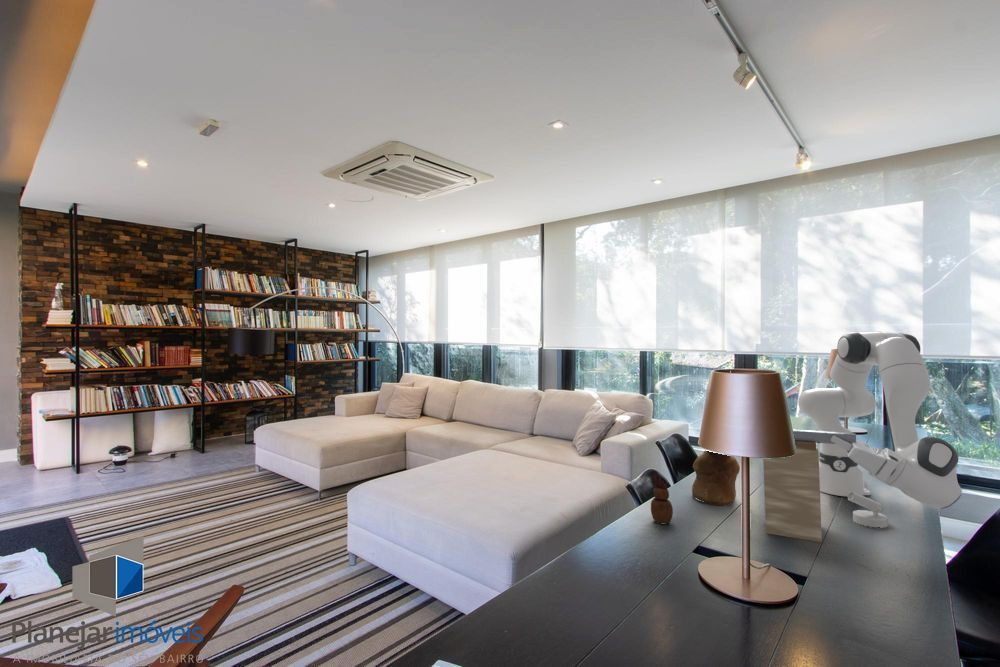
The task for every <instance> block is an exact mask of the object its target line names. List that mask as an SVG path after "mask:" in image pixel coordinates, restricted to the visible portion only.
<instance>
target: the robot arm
mask: <svg viewBox="0 0 1000 667" xmlns="http://www.w3.org/2000/svg"><path fill="white" fill-rule="evenodd" d="M836 347H837V349H836V351H837V354H836V356H835V359H834V361H833V364H832V366H831V367H830V368H831V369H830V370H829V376H830V377H829V378H830V380H831V382H833V384H835V385H836V386H837V387H833V388H831V387H830V388H812V389H807V390H803V391H802V392H801V393H800V395H799V396H798V401H797V402H798V407H799V410H800V411H801V412H802V413H803V414H804V415H805V416H806V417H808V418H810V420H811V421H812V422H813V423H814V425H815V426H816V428H817V431H829V432H845V433H853V431H851V430H850V429H848V428H846V427H845V426H842V424H841V423H840V418H859V417H865V416H869V415H871V414H873V413H874V411H875V409H876V407H877V406H876V405H877V402H876V398H875V396H874V395H873V394H872V392H871V391H869V390H868V389H867V386H866V384H867V382H868V379H869V376H870V375H871V371H872V370H873V369H874V368H873V367H874V366H877V368H878V372H879V377H880V378H881V379H880V381H881V383H882V388H883V393H884V400H885V410H886V412H885V413H886V419H887V424H888V429H889V430H888V431H889V434H890V440H891V441H890V442H891V447H892V449H890V448H888V447H885V448H884V449H880V448H878V447H877V448H874V447H872V446H871V445H869V444H867V443H865V442H863V441H862V440H860V439H857V438H856V443H855V442H852V444H850V443H848V442H846V441H844V440H842V439H840V438H839V437H837V436H835V435H832V437H831V438H830V440H831V441H832V442H834V443H835V444H828V443H819V445H820V451H819V478H820V493H821V492H822V493H824V494H828V495H834V496H840V497H847V498H848V495H849V493H850V492H855V493H857V494H859V495H862V496H871V493H872V492H871V491H870V490H868V489H867V488H866V487H865V478H864V477H865V476H864V471H863V470H862V469H860V468H859V466H860V467H862V468H864V469H865V470H867V472H868V473H867V474H868V475H869V476H870V477H874V478H875V479H876V480H878V481H880V482H882V483H884V484H886V485H887V486H889V487H893V488H896V489H898V490H900V492H902V493H903V494H904V495H906V496H907V497H908V498H911V499H913V500H915V501H917V502H919V503H921V504H923V505H926V506H927V507H930V508H932V509H936V510H943V509H944V510H945V509H946V508H949V507H951V506H952V505H954V504H955V503H956V502H957V501H958V500H959V499H960V497H961V496H962V494H963V490H962V488H961V485H959V482H958V476H957V475H958V474H957V467H958V463H959V454H958V451H957V450H956V448H955V447H954V446H953V445H952V444H951V443H949V442H948V441H947V440H944V439H942V438H940V437H936V436H925V437H923V438H920V439H919V436H918V431H917V425H916V416H917V413H918V411H919V409H920V407H921V405H922V404H923V402H924V400H925V399H926V398H927V396H928V395H929V393H930V391H931V378H930V374H929V370H928V368H927V365H926V362H925V360H924V359H923V357H922V354H921V344H920V342H919V340H918V339H917V337H915V336H914V335H912V334H908V333H904V332H898V333H897V332H890V331H887V332H886V331H867V332H866V331H864V332H862V331H861V332H858V331H854V332H853V331H852V332H847V333H844V334H843V335H842V336H841V337H840V338H839V339H838V342H837V346H836Z"/></svg>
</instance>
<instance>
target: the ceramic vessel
mask: <svg viewBox="0 0 1000 667" xmlns="http://www.w3.org/2000/svg"><path fill="white" fill-rule="evenodd" d="M740 468H741V467H740V464H739V462H738V461H737V459H736V457H735V456H733V455H732V456H727V455H722V454H718V453H713V452H709V451H706V450H704V451H703V452H702V454H700V455H698V456H697V457H696V459H695V460H694V461H693V464H692V469H693V471H694V472H695V475H696V477H695V479H694V480H693V484H692V486H691V494H692V497H693V496H694V497H695V498H697V499H699V500H701V501H704V502H706V503H705V504H708V503H710V504H709V505H714V504H715V505H714V506H729V505H731V504H733V502H735V501H736V498H737V497H736V496H737V491H736V482H737V481H736V480H737V478H738V475H739V473H740ZM730 503H731V504H730ZM728 504H729V505H728Z"/></svg>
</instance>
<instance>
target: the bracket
mask: <svg viewBox="0 0 1000 667" xmlns="http://www.w3.org/2000/svg"><path fill="white" fill-rule="evenodd" d="M792 429H793V434H794V439H795V441H801V442H815V443H817V444H820V443H828V444H835V443H834V442H832V441H831V440H830V438H831V437H832V435H835V436H837V437H839V438H840V439H842V440H844V441H846V442H848V443H850V444H852V442H855V443H856V439H857V434H856V433H855V432H852V433H845V432H829V431H818V430H810V429H798V428H797V429H795V428H792Z"/></svg>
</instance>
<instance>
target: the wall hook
mask: <svg viewBox="0 0 1000 667" xmlns="http://www.w3.org/2000/svg"><path fill="white" fill-rule="evenodd" d="M847 500H848V501H849V502H852V503H855V504H856V505H859V506H861V507H863V508H866V509H867V510H865V509H857V510H853V511H852V520H853V522H854V523H855V522H856V524H857V523H858V524H857V525H860V524H861V525H860V526H863V525H864V526H863V527H867V526H869V527H868V528H872V527H880V528H879V529H884V528H883V527H886V528H888V527H887V526H889V522H888V521H889V520H888V519H889V518H888V516H887V515H886V514H884V513H881V512H882V510H883V506H882V504H881V503H879V502H878V501H876V500H873V499H871V498H868V497H866V496H865V495H863V496H862V495H859V494H857V493H855V492H850V493H849V495H848V497H847Z"/></svg>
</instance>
